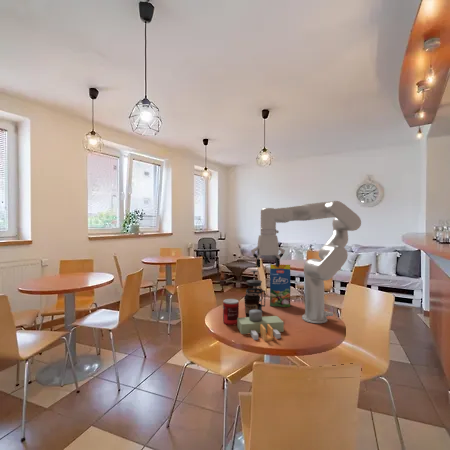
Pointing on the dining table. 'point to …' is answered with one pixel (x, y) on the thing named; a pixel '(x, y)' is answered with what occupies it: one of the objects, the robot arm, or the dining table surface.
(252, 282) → the french press
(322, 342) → the dining table surface
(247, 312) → the coffee cup
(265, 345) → the dining table surface
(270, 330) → the chute
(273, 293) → the blue food package
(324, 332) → the dining table surface
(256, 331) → the green plate with pegs
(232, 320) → the canned food
